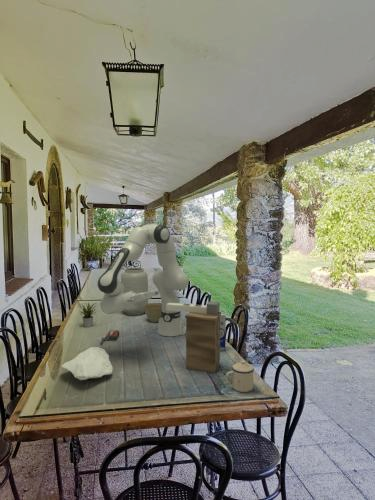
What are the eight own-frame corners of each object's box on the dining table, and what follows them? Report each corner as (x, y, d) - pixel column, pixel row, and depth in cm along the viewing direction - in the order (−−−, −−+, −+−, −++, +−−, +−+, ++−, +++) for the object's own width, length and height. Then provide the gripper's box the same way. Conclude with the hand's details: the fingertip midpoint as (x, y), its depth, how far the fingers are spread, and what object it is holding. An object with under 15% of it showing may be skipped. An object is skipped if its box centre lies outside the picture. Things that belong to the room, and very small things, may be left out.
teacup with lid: (250, 382, 162) (250, 356, 161) (256, 392, 153) (256, 364, 152) (223, 383, 160) (223, 357, 159) (228, 393, 151) (228, 366, 150)
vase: (118, 311, 282) (117, 267, 279) (143, 308, 290) (143, 266, 287) (125, 317, 263) (124, 271, 260) (151, 314, 272) (151, 269, 269)
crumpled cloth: (50, 388, 153) (53, 367, 152) (70, 355, 187) (72, 338, 187) (107, 394, 155) (110, 373, 154) (116, 361, 190) (119, 344, 189)
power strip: (169, 307, 188) (169, 298, 187) (219, 311, 180) (219, 302, 180) (165, 310, 182) (165, 300, 182) (216, 315, 174) (216, 304, 174)
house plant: (104, 323, 250) (103, 299, 248) (97, 329, 236) (96, 304, 235) (83, 322, 251) (83, 299, 250) (75, 328, 238) (75, 304, 236)
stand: (191, 359, 187) (192, 309, 184) (220, 363, 182) (221, 312, 180) (184, 369, 175) (184, 315, 173) (215, 373, 171) (216, 318, 168)
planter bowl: (166, 324, 248) (166, 308, 247) (143, 323, 249) (142, 308, 248) (168, 317, 264) (168, 302, 264) (146, 317, 265) (146, 302, 264)
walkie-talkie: (105, 334, 227) (98, 346, 207) (105, 327, 227) (98, 338, 207) (120, 334, 227) (114, 345, 207) (120, 327, 227) (114, 338, 207)
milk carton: (213, 351, 198) (213, 315, 196) (209, 347, 204) (209, 312, 202) (225, 350, 200) (226, 314, 198) (221, 346, 206) (221, 311, 204)
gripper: (124, 295, 180) (151, 287, 179) (134, 293, 200) (158, 286, 199) (127, 307, 179) (154, 300, 178) (137, 304, 200) (161, 297, 199)
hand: (156, 293), depth 189 cm, fingers open, 8 cm apart
